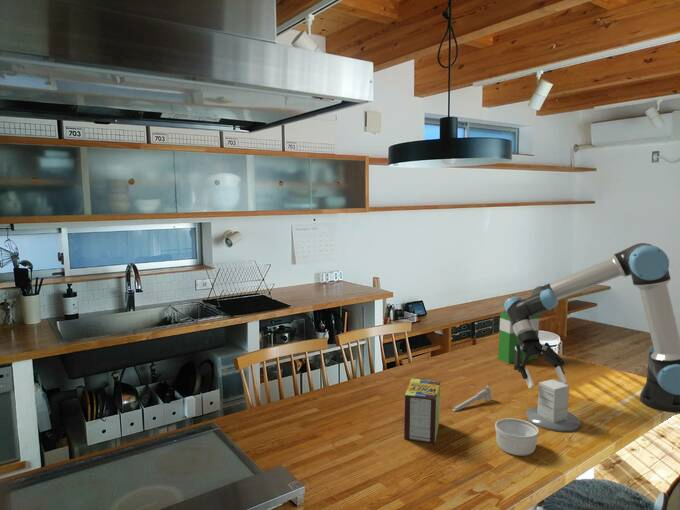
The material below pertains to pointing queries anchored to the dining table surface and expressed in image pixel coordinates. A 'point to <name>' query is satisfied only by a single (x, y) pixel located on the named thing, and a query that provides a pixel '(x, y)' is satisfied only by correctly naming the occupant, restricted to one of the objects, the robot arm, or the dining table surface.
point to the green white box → (511, 338)
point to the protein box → (422, 410)
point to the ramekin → (516, 436)
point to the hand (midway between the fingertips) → (548, 385)
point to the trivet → (561, 426)
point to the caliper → (475, 398)
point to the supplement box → (553, 400)
